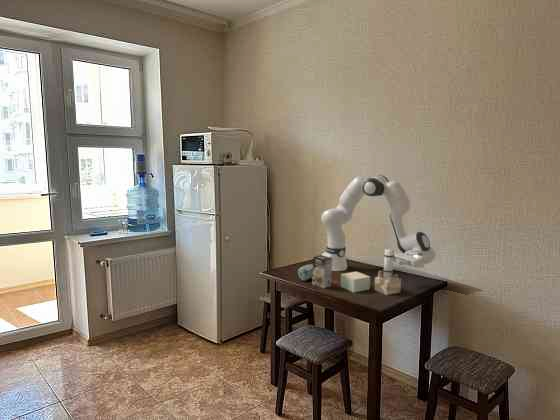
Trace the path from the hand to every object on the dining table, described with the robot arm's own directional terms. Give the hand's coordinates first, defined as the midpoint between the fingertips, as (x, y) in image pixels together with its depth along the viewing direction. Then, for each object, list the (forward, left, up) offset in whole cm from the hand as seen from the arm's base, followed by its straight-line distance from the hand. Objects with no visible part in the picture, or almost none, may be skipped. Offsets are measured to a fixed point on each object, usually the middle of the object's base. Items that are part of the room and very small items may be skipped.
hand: (393, 261), depth 207 cm
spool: (-38, -29, -16) cm, 50 cm away
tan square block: (0, -4, -16) cm, 16 cm away
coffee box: (-24, -29, -16) cm, 41 cm away
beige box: (-12, -16, -16) cm, 25 cm away
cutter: (-18, -20, -16) cm, 31 cm away
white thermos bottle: (0, -4, -9) cm, 10 cm away
